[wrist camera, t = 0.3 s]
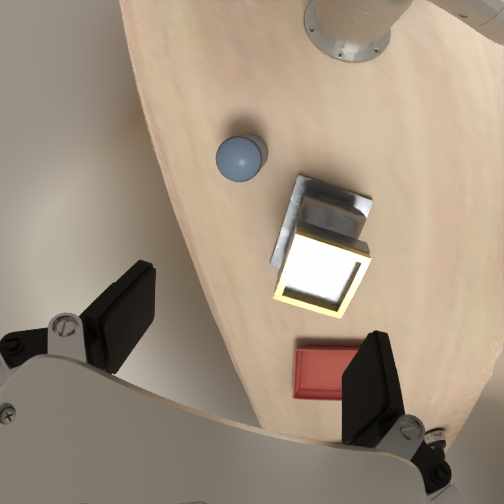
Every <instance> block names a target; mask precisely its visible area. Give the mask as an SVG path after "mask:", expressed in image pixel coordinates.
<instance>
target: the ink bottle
mask: <svg viewBox="0 0 504 504" xmlns="http://www.w3.org/2000/svg"><path fill="white" fill-rule="evenodd" d="M423 441H424V442H426V443H427V444H428V445H429V446H430V447H431V448H432V449H433V450H434V451H435V452H436V453H437V454H438V455H439V456H440V457H441V458H443V459H444V460H445V453H444V448H445V446H446V440H445V435H444V430H443V429H434V430H430V431H428V432H426V433H425V437H424V439H423Z"/></svg>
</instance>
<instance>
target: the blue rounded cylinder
mask: <svg viewBox="0 0 504 504" xmlns="http://www.w3.org/2000/svg"><path fill="white" fill-rule="evenodd" d="M267 158H268V148H267V146H266V144H265V142H264V141H263V140H262V139H261V138H259V137H258V136H256V135H252V134H246V135H242V136H235V137H231V138H229V139H227V140H225V141H224V142H223V143H222V144H221V145H220V146H219V148H218V150H217V153H216V164H217V167H218V169H219V171H220V172H221V174H222V175H223V176H225V177H226V178H227V179H229V180H232V181H235V182H244V181H247V180H250V179H251V178H253V177H254V176H255V175H256V174H257V173H258V172H259V170H260V168H261V167H262V166H263V165H264V164H265V163H266V161H267Z"/></svg>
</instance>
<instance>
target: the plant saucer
mask: <svg viewBox="0 0 504 504" xmlns="http://www.w3.org/2000/svg"><path fill="white" fill-rule="evenodd" d="M359 348H360V347H325V346H304V347H300V348H298V349H296V350H295V352H294V377H293V395H292V397H293V398H294V399H303V400H333V401H342V374H343V372H344V371H345V369H346V368H347V366H348V365H349V363H350V362H351V360H352V359H353V357H354V356H355V354H356V353H357V351H358V350H359Z"/></svg>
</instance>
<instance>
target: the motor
mask: <svg viewBox="0 0 504 504" xmlns="http://www.w3.org/2000/svg"><path fill="white" fill-rule="evenodd" d="M372 203H373V200H372V199H370V198H367V197H364V196H362V195H359V194H356V193H354V192H351V191H348V190H345V189H342V188H339V187H337V186H334V185H331V184H328V183H325V182H322V181H319V180H316V179H313V178H310V177H307V176H303V175H300V174H298V177H297V180H296V184H295V187H294V190H293V194H292V197H291V200H290V203H289V206H288V210H287V213H286V216H285V219H284V223H283V226H282V229H281V232H280V235H279V238H278V242H277V245H276V248H275V251H274V254H273V257H272V260H271V263H270V266H272V267H275V268H278V269H279V272H278V276H277V282H276V286H275V290H274V293H275V294H274V298H273V299H276V300H280V301H283V302H286V303H289V304H293V305H296V306H299V307H303V308H306V309H309V310H313V311H316V312H320V313H323V314H326V315H330V316H333V317H337V318H340V319H341V317H342V315H343V313H344V312H345V310H346V308H347V306H348V304H349V302H350V300H351V299H352V297H353V295H354V293H355V291H356V289H357V287H358V285H359V283H360V281H361V279H362V277H363V275H364V273H365V271H366V269H367V267H368V265H369V263H370V261H371V257H370V251H369V248H368V245H367V243H366V242H363V241H360V240H358V238H359V236H360V233H361V231H362V228H363V226H364V224H365V221H366V218H367V216H368V213H369V211H370V208H371V206H372Z"/></svg>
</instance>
